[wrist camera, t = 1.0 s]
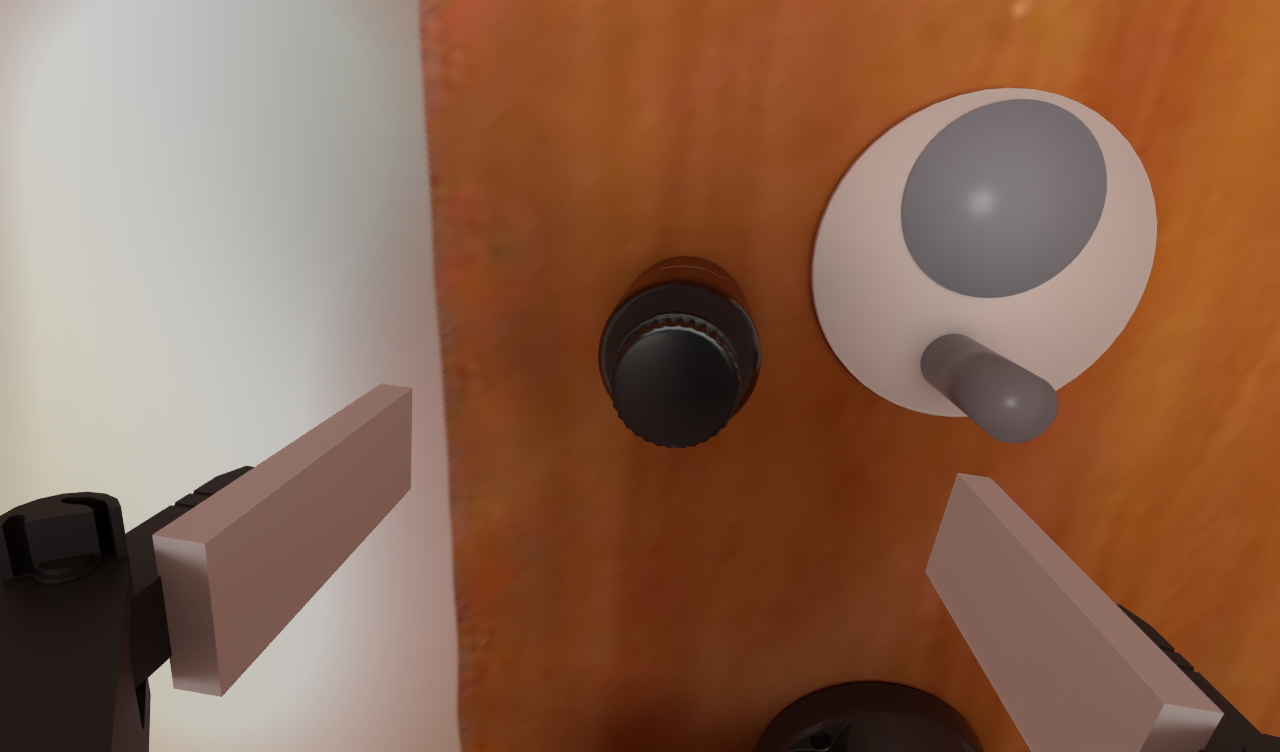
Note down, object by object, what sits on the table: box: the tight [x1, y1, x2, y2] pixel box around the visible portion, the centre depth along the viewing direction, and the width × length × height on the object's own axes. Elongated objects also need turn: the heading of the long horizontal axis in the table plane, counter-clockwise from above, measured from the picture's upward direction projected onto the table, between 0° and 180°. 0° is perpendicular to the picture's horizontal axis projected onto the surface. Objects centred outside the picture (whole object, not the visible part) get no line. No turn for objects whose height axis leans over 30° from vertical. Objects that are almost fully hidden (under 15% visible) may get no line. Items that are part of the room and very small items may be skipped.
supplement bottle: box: [598, 257, 761, 448], centre depth 28 cm, size 7×7×12 cm
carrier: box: [810, 88, 1157, 443], centre depth 27 cm, size 16×16×8 cm
